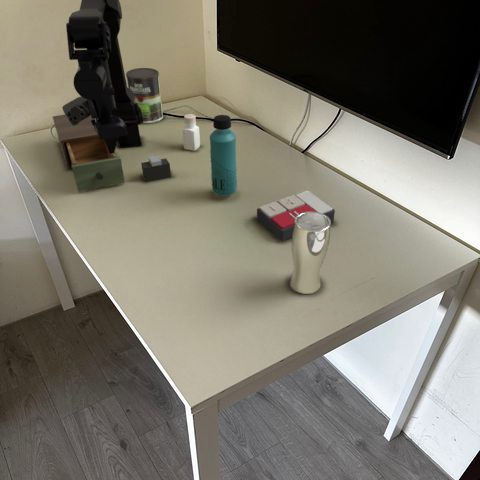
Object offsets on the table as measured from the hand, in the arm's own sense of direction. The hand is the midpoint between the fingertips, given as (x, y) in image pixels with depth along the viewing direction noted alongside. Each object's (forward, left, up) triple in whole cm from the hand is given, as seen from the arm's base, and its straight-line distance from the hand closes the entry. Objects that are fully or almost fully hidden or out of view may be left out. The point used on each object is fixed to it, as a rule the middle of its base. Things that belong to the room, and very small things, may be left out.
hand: (111, 152), depth 113 cm
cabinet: (+9, -29, -12) cm, 33 cm away
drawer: (+6, -13, -11) cm, 18 cm away
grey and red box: (-40, +21, -12) cm, 47 cm away
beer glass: (-35, +44, -12) cm, 58 cm away
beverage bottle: (-26, +5, -12) cm, 29 cm away
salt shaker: (-22, -25, -12) cm, 36 cm away
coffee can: (-11, -52, -12) cm, 55 cm away
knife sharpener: (-10, -9, -12) cm, 18 cm away
